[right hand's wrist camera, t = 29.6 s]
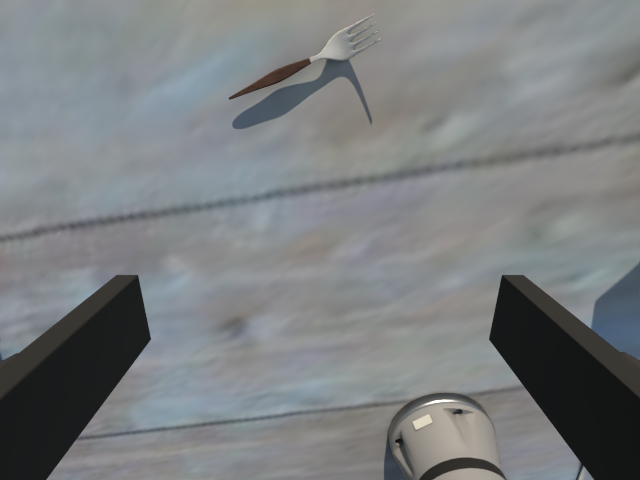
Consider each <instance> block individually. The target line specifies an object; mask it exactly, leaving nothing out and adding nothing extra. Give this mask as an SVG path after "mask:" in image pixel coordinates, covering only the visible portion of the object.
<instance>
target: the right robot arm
mask: <svg viewBox="0 0 640 480" xmlns="http://www.w3.org/2000/svg"><path fill="white" fill-rule="evenodd" d="M150 340H151V337H150V332H149V327H148V323H147V318H146V313H145V308H144V303H143V298H142V293H141V288H140V283H139V278H138V275H116V276H115V277H114V278H112V279H111V280H110V281H109V282H107V283H106V284H105V285H104V286H102V287H101V288H100V289H99V290H97V291H96V292H95V293H94V294H92V295H91V296H90V297H89V298H87V299H86V300H85V301H84V302H82V303H81V304H80V305H79V306H77V307H76V308H75V309H74V310H72V311H71V312H70V313H69V314H67V315H66V316H65V317H64V318H62V319H61V320H60V321H59V322H57V323H56V324H55V325H54V326H52V327H51V328H50V329H49V330H47V331H46V332H45V333H44V334H42V335H41V336H40V337H39V338H37V339H36V340H35V341H34V342H32V343H31V344H30V345H29V346H27V347H26V348H25V349H24V350H22V351H21V352H20V353H16V354H14V355H12V356H11V357H9V358H7V359H5V360H3V361H1V362H0V480H46V479H47V478H48V477H49V475H50V474H51V472H52V471H53V470H54V468H55V467H56V466H57V464H58V463H59V462H60V460H61V459H62V458H63V456H64V455H65V454H66V452H67V451H68V450H69V448H70V447H71V446H72V444H73V443H74V442H75V440H76V439H77V438H78V436H79V435H80V434H81V432H82V431H83V430H84V428H85V427H86V426H87V424H88V423H89V422H90V420H91V419H92V418H93V416H94V415H95V414H96V412H97V411H98V409H99V408H100V407H101V405H102V404H103V403H104V401H105V400H106V399H107V397H108V396H109V395H110V393H111V392H112V391H113V389H114V388H115V387H116V385H117V384H118V383H119V381H120V380H121V379H122V377H123V376H124V375H125V373H126V372H127V371H128V369H129V368H130V367H131V365H132V364H133V363H134V361H135V360H136V359H137V357H138V356H139V355H140V353H141V352H142V351H143V349H144V348H145V347H146V345H147V344H148V342H149V341H150ZM489 340H490V341H491V342H492V344H493V345H494V347H495V348H496V349H497V351H498V352H499V353H500V355H501V356H502V357H503V359H504V360H505V361H506V363H507V364H508V365H509V367H510V368H511V369H512V371H513V372H514V373H515V375H516V376H517V377H518V379H519V380H520V381H521V383H522V384H523V385H524V387H525V388H526V389H527V391H528V392H529V393H530V395H531V396H532V397H533V399H534V400H535V401H536V403H537V404H538V405H539V407H540V408H541V409H542V411H543V412H544V414H545V415H546V416H547V418H548V419H549V420H550V422H551V423H552V424H553V426H554V427H555V428H556V430H557V431H558V432H559V434H560V435H561V436H562V438H563V439H564V440H565V442H566V443H567V444H568V446H569V447H570V448H571V450H572V451H573V452H574V454H575V455H576V456H577V458H578V459H579V460H580V462H581V463H582V464H583V466H584V467H585V468H586V470H587V471H588V472H589V474H590V475H591V477H592V478H593V479H594V480H640V360H638V359H636V358H634V357H632V356H630V355H628V354H627V353H625V352H619V351H618V350H616V349H615V348H614V347H613V346H611V345H610V344H609V343H608V342H606V341H605V340H604V339H603V338H601V337H600V336H599V335H598V334H596V333H595V332H594V331H593V330H591V329H590V328H589V327H588V326H586V325H585V324H584V323H583V322H581V321H580V320H579V319H578V318H576V317H575V316H574V315H573V314H571V313H570V312H569V311H568V310H566V309H565V308H564V307H563V306H561V305H560V304H559V303H558V302H556V301H555V300H554V299H553V298H551V297H550V296H549V295H548V294H546V293H545V292H544V291H543V290H541V289H540V288H539V287H538V286H536V285H535V284H534V283H533V282H531V281H530V280H529V279H528V278H526V277H525V276H524V275H502V278H501V283H500V288H499V293H498V298H497V303H496V308H495V313H494V318H493V323H492V327H491V332H490V337H489ZM388 438H389V444H390V449H391V453H392V456H393V458H394V460H395V461H396V463H397V465H398V467H399V468H400V470H401V472H402V473H403V475H404V477H405V478H406V480H506V478H505V476H504V474H503V472H502V470H501V464H500V458H499V452H498V446H497V440H496V434H495V429H494V426H493V424H492V422H491V420H490V418H489V416H488V415H487V413H486V411H485V410H484V409H483V407H482V406H481V405H480V404H478V403H477V402H476V401H474V400H472V399H471V398H468V397H466V396H463V395H459V394H453V393H437V394H431V395H427V396H423V397H421V398H418V399H416V400H414V401H412V402H410V403H408V404H407V405H406V406H404V407H403V408H402V409H401V410H400V411H399V412H398V413H397V414H396V415H395V417H394V418H393V420H392V422H391V424H390V427H389V432H388Z"/></svg>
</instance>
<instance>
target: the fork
mask: <svg viewBox="0 0 640 480" xmlns="http://www.w3.org/2000/svg"><path fill="white" fill-rule="evenodd" d="M373 15H374V14H372V15H371V16H369V17H367V18H365V19H363V20H361V21H359V22H357V23H355V24H353V25H351V26H349V27H347V28H345V29H343V30H341V31H339V32H337V33H336V34H335V35H334V36H333V37H332V38H331V39H330V40H329V42H328V43H327V45H326V46H325V48H324V49H323V50H322V52H321V53H320V54H318V55H316V56H314V57H311V58H308V59H305V60H302V61H299V62H296V63H293V64H290V65H287V66H284V67H281V68H279V69H277V70H275V71H273V72H271V73H269V74H268V75H266V76H264V77H263V78H261V79H260V80H258V81H256V82H255V83H253V84H252V85H250V86H248V87H246V88H245V89H243V90H241V91H240V92H238V93H236V94H234V95H233V96H231V97H229V100H230V99H233V98H236V97H239V96H241V95H244V94H247V93H249V92H252V91H255V90H258V89H261V88H264V87H267V86H270V85H273V84H276V83H278V82H281V81H283V80H284V79H286V78H288V77H290V76H291V75H293V74H295V73H296V72H298V71H300V70H301V69H303V68H304V67H306V66H308V65H309V64H311V63H313V62H314V61H316V60H318V59H322V58H326V59H331V60H337V61H344V60H348V59H350V58H352V57H353V56H355V55H356V54H358V53H360V52H361V51H363V50H365V49H367V48H368V47H370V46H371V45H373V44H375V43H376V42H378V41H379V40H381V38H380V39H379V40H377V41H374V42H372V43H370V44H368V45H366V46H364V47H361V48H359V49H356V50H355V49H354V48H355V46H357V45H358V44H360V43H361V42H363V41H365V40H366V39H368V38H369V37H371V36H372V35H374V34H375V33H377V32H378V31H376V32H374V33H372V34H370V35H368V36H366V37H364V38H362V39H360V40H358V41H355V42H352V39H353V38H355V37H356V36H358V35H359V34H361V33H362V32H364V31H365V30H367V29H368V28H370V27H371V26H373V25H374V24H376V23H374V24H372V25H370V26H368V27H366V28H364V29H362V30H360V31H358V32H356V33H353V34H349V32H350V31H351V30H353V29H354V28H356V27H357V26H359V25H360V24H362V23H363V22H364V21H366V20H367V19H369V18H370V17H372V16H373Z"/></svg>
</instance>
